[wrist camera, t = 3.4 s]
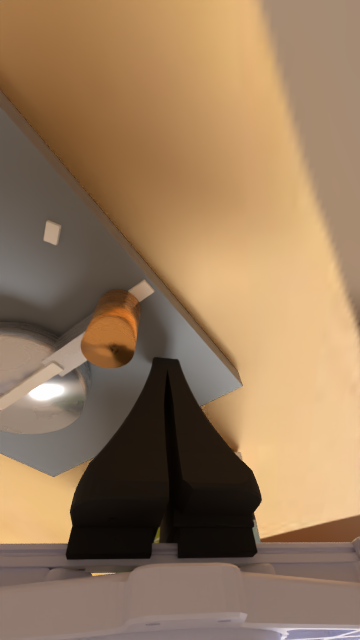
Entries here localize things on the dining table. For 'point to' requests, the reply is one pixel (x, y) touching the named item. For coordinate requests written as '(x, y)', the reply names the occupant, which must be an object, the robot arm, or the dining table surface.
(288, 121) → the dining table surface
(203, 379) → the panel
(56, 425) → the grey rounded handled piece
